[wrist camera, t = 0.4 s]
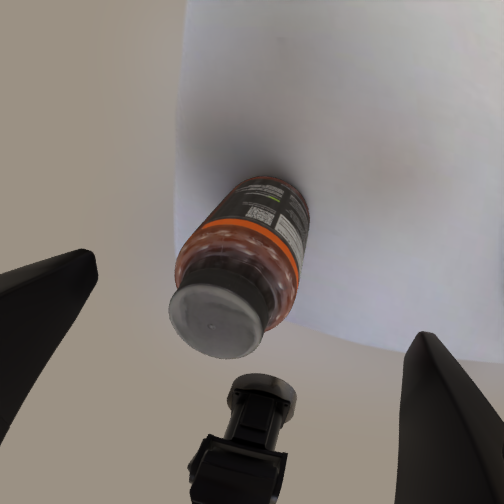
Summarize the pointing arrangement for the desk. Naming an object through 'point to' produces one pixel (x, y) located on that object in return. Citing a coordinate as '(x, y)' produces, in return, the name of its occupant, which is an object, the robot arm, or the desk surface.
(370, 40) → the desk surface
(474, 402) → the robot arm
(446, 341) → the desk surface
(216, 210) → the supplement bottle
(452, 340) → the desk surface
